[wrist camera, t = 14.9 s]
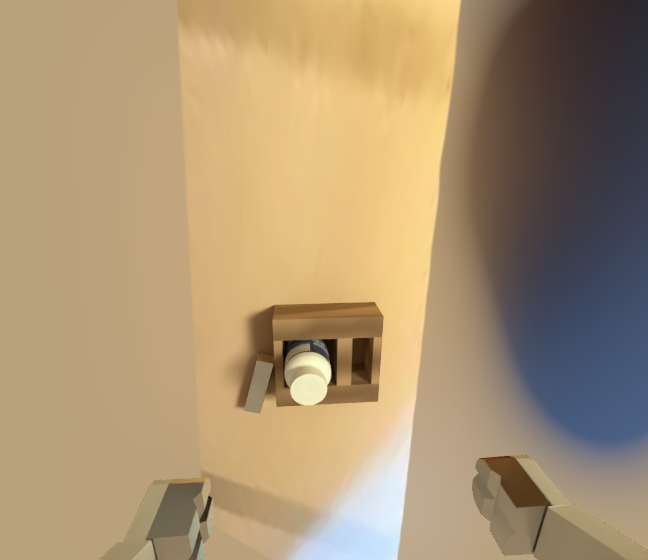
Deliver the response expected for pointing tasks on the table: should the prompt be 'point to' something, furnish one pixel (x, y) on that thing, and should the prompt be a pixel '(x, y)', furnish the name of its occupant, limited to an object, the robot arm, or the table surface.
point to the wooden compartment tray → (342, 328)
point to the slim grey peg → (259, 383)
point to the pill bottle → (307, 370)
